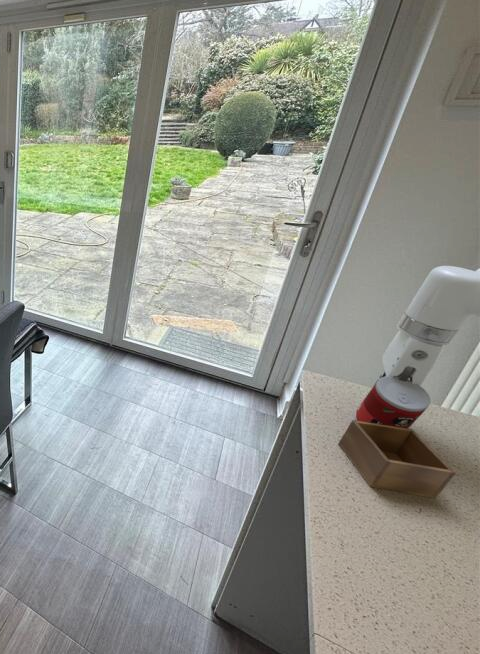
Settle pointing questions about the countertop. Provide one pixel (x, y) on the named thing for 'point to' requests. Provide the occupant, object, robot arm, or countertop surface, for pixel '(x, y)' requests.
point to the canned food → (393, 403)
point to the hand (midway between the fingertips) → (378, 398)
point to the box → (395, 459)
